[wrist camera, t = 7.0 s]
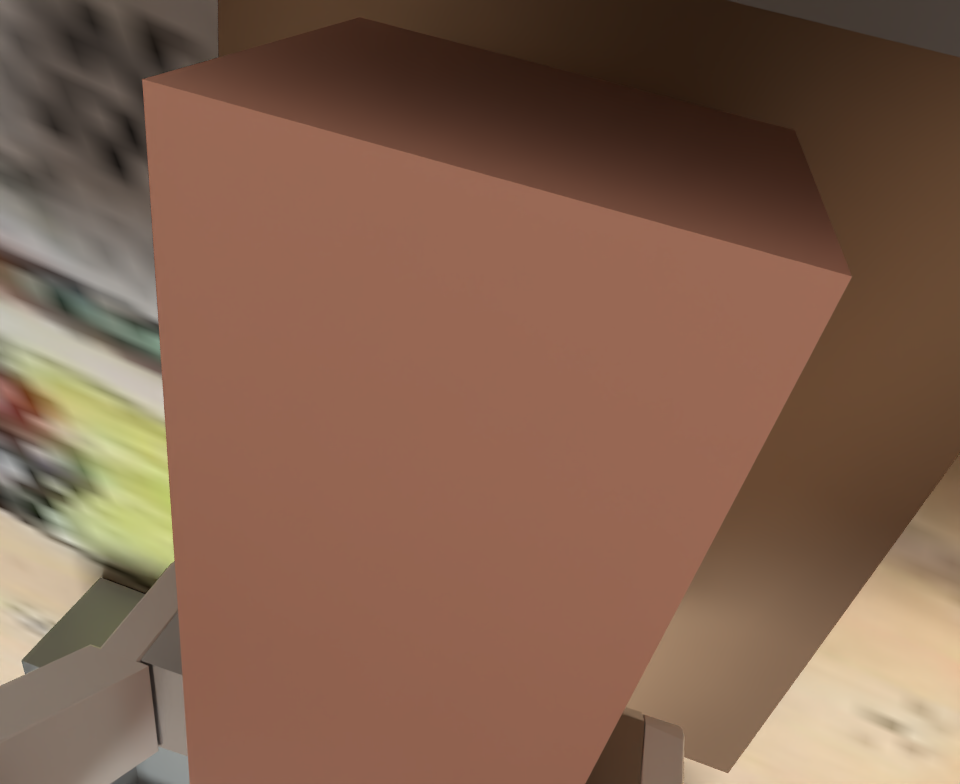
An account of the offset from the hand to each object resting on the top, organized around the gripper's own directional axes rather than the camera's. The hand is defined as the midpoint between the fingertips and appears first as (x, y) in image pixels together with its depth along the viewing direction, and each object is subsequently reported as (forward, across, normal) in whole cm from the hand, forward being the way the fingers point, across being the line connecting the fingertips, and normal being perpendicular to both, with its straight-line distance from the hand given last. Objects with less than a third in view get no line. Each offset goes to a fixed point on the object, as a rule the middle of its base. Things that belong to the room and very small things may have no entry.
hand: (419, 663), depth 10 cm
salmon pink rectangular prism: (+1, 0, +3) cm, 3 cm away
